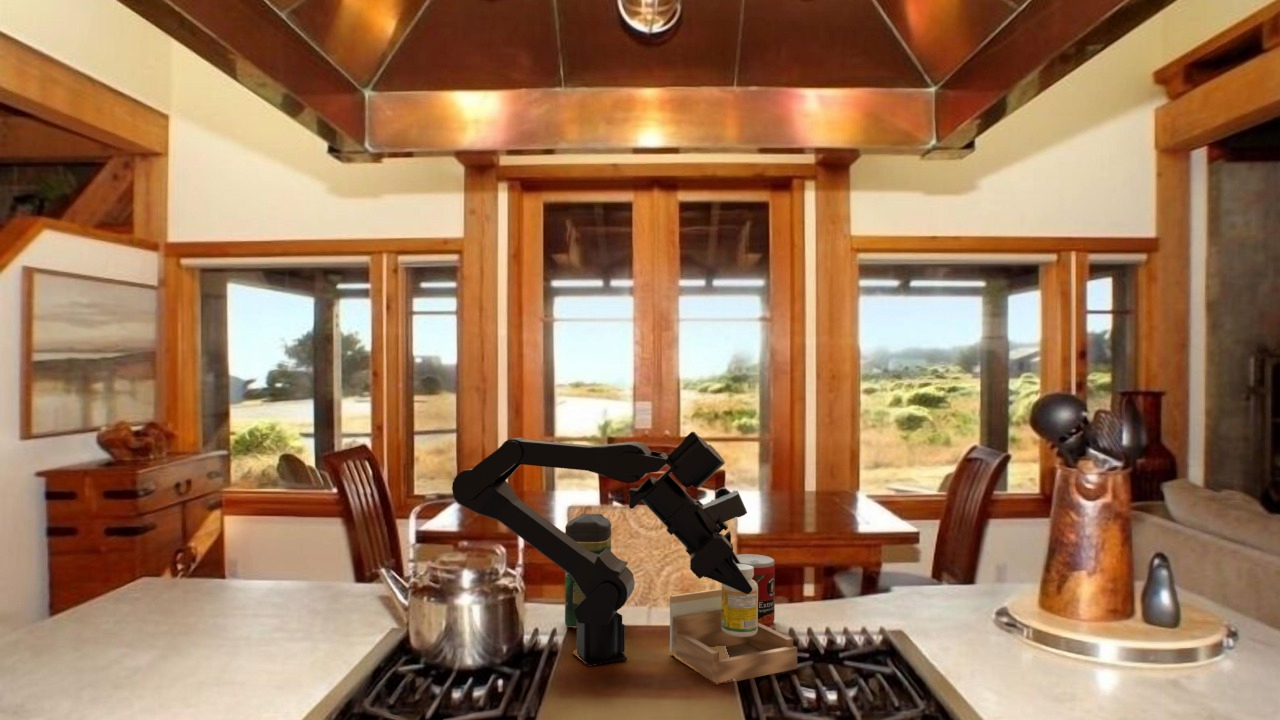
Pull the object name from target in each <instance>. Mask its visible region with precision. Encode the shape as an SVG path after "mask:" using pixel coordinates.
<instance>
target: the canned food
mask: <svg viewBox="0 0 1280 720" xmlns="http://www.w3.org/2000/svg"><path fill="white" fill-rule="evenodd" d="M735 555H736V557H737V558H738V560H739V561H740V563H741V564H746V565H750V566H753V567H754V576H753V578H752V580H754V581H755V582H756V583H757V585H758V623H760V624H762V625H764V626H767V627H769V628H770V627H772V626H773V624H774V621H775V618H776V617H775V611H776V610H775V607H776V606H775V601H776V600H775V598H776V597H775V594H776V593H775V591H776V590H775V589H776V587H775V583H776V582H775V581H776V579H775V576H776V574H775V573H776V572H775V571H776V570H775V567H776V566H775V564H776V563H775V559H774V558H772V557H771V556H768V555H762V554H754V553H753V554H752V553H743V554H742V553H741V554H735Z"/></svg>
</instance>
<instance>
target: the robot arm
mask: <svg viewBox="0 0 1280 720" xmlns="http://www.w3.org/2000/svg"><path fill="white" fill-rule="evenodd" d="M725 464H726V461H725V460H724V459H723V457H722V456H721V454H720V453H719V452H718V451H717V450H716V449H715V448H714V447H713V446H712V445H711V444H708V442H706V441H705V440H704V439H703V438H702V437H700V436H699V435H698V434H697V433H696V432H695V431H691V432H690V433H688V434H687V436H685V438H684V439H683V441H682V442H681V443H680V444H678V446H677V447H676V448H675V449H674V450H672V452H671V453H666V452H659V451H654V450H651V449H650V448H649V446H647V444H645V443H643V442H640V441H626V442H618V443H610V444H609V443H607V444H599V445H589V444H580V443H579V444H578V443H577V444H576V443H568V442H567V443H566V442H556V441H548V440H547V441H545V440H544V441H543V440H533V439H526V438H524V437H516V438H514V437H513V438H509V439H506V440H505V441H504V442H502V444H501V445H500V447H498V448H497V449H496V450H495V451H493V452H492V453H491V454H489V455H488V456H487V457H485V458H484V459H482V460H481V461H480V462H479V463H477V465H475V466H474V467H471V468H469V469H465V470H462V471H461V472H459V473H458V474H456V476H455V477H454V479H453V481H452V487H451V491H452V497H453V499H454V501H455V502H456V503H457V504H458V505H460V506H462V507H463V508H465V509H467V510H470V511H471V512H473V513H475V514H478V515H481V516H484V517H487V518H490V519H493V520H496V521H498V522H500V523H501V524H502V525H503V526H505V527H506V528H507V529H508V530H510V531H512V532H513V533H514V534H515V535H517V536H518V537H519V538H521V539H522V540H524V541H525V542H526V543H527V544H529V545H530V546H532V548H534V549H536V550H537V552H540V553H541V554H542V555H543V556H545V558H547V559H549V561H551V562H553V564H556V566H558V567H559V568H561V569H562V570H563V571H566V572H567V573H569V574H570V575H571V577H572V578H573V579H574V581H575V583H576V584H577V586H578V588H579V589H580V591H581V592H582V593H583V595H584V596H585V598H584V599H583V600H582V601H581V602H580V603H579V604H578V606H577V607H576V608H575V609H574V612H575V615H576V618H577V629H576V649H577V654H578V655H579V657H580V658H581V659H582V660H583V661H584V662H585V663H586V664H587V665H594V664H600V663H605V664H609V663H608V662H611V663H614V662H613V661H617V662H621V661H620V660H622V661H624V660H623V659H626V660H628V656H627V655H626V653H625V650H626V625H625V623H623V615H622V614H621V613H619V612H618V611H619V610H620V609H621V608H623V607H624V606H625V604H626V603H627V601H628V600H629V598H630V597H631V595H632V594H633V592H634V589H635V582H636V581H635V577H634V573H633V572H632V570H631V569H629V567H627V566H628V564H629V563H628V561H624V560H622V559H620V558H618V557H617V556H616V555H615V554H614V553H613V551H612V550H611V551H610V550H609V549H605V550H604V551H603V552H602V553H601V554H600V555H599V554H596V553H593V552H590V551H588V550H586V549H585V548H584V547H582V546H581V545H580V544H578V543H577V542H576V541H574V540H573V539H572V538H570V537H569V536H568V535H566V532H564V531H563V530H561V529H559V528H558V526H555V525H554V524H553V523H551V521H549V520H547V519H546V518H545V517H543V515H541V514H539V513H538V512H537V511H536V510H535V509H533V508H531V507H530V506H529V505H527V504H526V503H525V502H523V501H522V500H521V499H520V498H519V497H518V496H517V495H516V494H515V492H514V491H513V488H512V487H511V486H510V483H508V481H507V480H508V479H509V478H510V477H511V476H512V475H513V474H514V473H515V471H517V469H519V468H520V466H521V465H525V466H536V467H547V468H555V469H556V468H557V469H565V470H576V471H577V470H578V471H584V472H585V471H588V472H591V473H593V474H597V475H599V476H602V477H604V478H608V479H612V480H614V481H618V482H621V483H626V484H632V483H636V482H639V481H640V480H642V479H643V478H645V477H646V476H647V475H648V474H651V473H658V472H659V471H661V470H662V469H663V468H665V467H667V465H668V466H669V468H668V469H667V470H666V471H665V472H664V473H663V474H661V475H660V476H659V477H658V478H656V477H654V476H652V475H651V476H649V478H647V479H646V480H645V481H644V482H643V483H642V484H641V485H640V486H639V487H631V488H629V490H628V494H629V505H628V508H629V509H631V510H633V509H634V508H635V507H636V506H638V505H639V503H640V502H643V504H644V505H645V506H646V507H647V508H648V509H649V510H650V511H651V512H652V513H653V515H655V517H657V518H658V519H659V520H660V522H661V523H662V524H663V525H664V526H665V527H666V531H667V533H668V534H669V536H672V535H674V537H675V538H676V539H677V540H678V541H679V542H680V543H681V544H682V545H683V546H684V547H685V552H686V553H687V554H688V555H689V556H690V558H689V559H690V560H689V561H690V565H689V570H690V571H691V572H692V573H693V574H694V575H695V576H696V577H697V578H698V579H699V580H700V579H703V577H704V578H707V579H711V580H713V581H715V582H717V583H720V584H721V585H722V584H725V585H727V586H729V587H732V588H734V589H736V590H738V591H741V592H743V593H745V594H749V593H750V592H751V591H752V590H753V589H752V587H751V585H750V584H749V582H748V581H747V579H746V578H745V576H744V575H743V573H742V572H741V570H740V569H739V567H738V566H737V564H741V563H740V561H739V560H738V558H737V557H736V555H737V554H736V553H735V552H734V545H733V543H732V534H731V531H730V530H729V531H727V530H728V529H729V524H728V523H727V522H728V521H730V520H733V519H735V518H741V517H743V516H745V515H746V514H748V511H747V508H746V507H745V504H744V502H743V500H742V498H741V495H740V492H739V491H738V490H733V491H731V490H729V489H728V488H726V487H725V486H723V487H720V488H718V489H716V490H715V498H714V499H711V500H710V501H709V502H707V503H704V504H703V503H702V502H701V501H700V500H699V499H695V498H692V497H691V495H689V493H688V492H687V491H686V490H685V489H684V488H683V487H685V488H686V489H689V488H691V487H692V486H693V487H694V488H696V489H700V488H701V486H702V485H704V484H705V483H706V482H707V481H708V480H709V479H710V478H711V477H712V476H713V475H714V474H715V473H717V471H719V470H720V469H721V468H722V467H723V466H724V465H725ZM671 474H672V475H673V476H674V477H672V475H671ZM674 478H675V479H674ZM676 480H677V481H676ZM678 482H679V483H680V484H681V485H682V486H683V487H682V486H681V485H680V484H679V483H678ZM723 530H724V531H727V532H726V533H725V534H722V533H721V532H723ZM586 664H585V665H586ZM587 665H586V666H587ZM600 665H601V664H600ZM594 666H595V665H594Z"/></svg>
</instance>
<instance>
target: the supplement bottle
mask: <svg viewBox="0 0 1280 720" xmlns="http://www.w3.org/2000/svg"><path fill="white" fill-rule="evenodd" d="M737 566H738V567H739V569H740V570H741V572H742V573H743V575H744V576H745V578H746V579H747V581H748V582H749V584H750V585H751V587H752V589H753V590H752V591H751V592H750V593H749V594H745V593H743V592H741V591H738V590H736V589H734V588H732V587H729V586H727V585H725V584H722V583H721V589H722V621H721V627H722V631H723V632H724V633H725V634H727V635H730V636H735V637H750V636H753V635H755V634H756V633H757V631H758V585H757V583H756V582H755V581H754V580H752V578H753V576H754V567H753V566H750V565H746V564H737Z"/></svg>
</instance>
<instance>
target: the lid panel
mask: <svg viewBox="0 0 1280 720" xmlns="http://www.w3.org/2000/svg"><path fill="white" fill-rule="evenodd" d="M718 610H722V588H716V589H709V590H702V591H695V592H687V593H681V594H680V593H679V594H673V595H669V652H670V651H671V652H672V651H673V617H679V616H686V615H692V614H699V613H705V612H712V611H718Z"/></svg>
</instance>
